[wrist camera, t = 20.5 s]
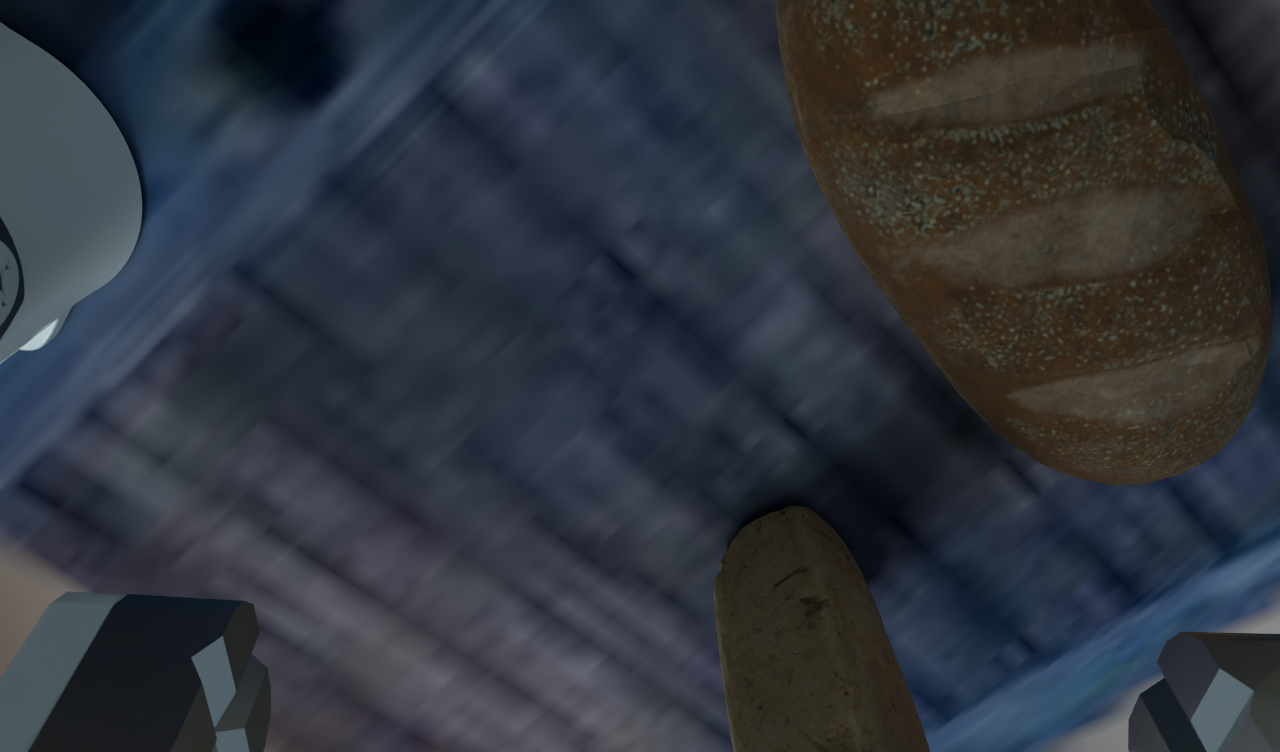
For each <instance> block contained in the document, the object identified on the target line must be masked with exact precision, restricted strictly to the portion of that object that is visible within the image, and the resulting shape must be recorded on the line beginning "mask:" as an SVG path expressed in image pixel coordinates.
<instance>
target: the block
mask: <svg viewBox="0 0 1280 752" xmlns="http://www.w3.org/2000/svg"><path fill="white" fill-rule="evenodd" d="M714 599H715V613H716V624H717V635H718V645H719V654H720V663H721V673H722V680H723V687H724V693H725V698H726V709H727V714H728V719H729V726H730V734H731V739H732V745H733V749H734V752H930V750H929V746H928V743H927V740H926V737H925V734H924V731H923V728H922V725H921V722H920V719H919V717H918V714H917V711H916V708H915V705H914V702H913V700H912V697H911V694H910V692H909V689H908V686H907V684H906V682H905V679H904V677H903V674H902V672H901V670H900V667H899V665H898V662H897V660H896V658H895V655H894V652H893V650H892V647H891V644H890V642H889V639H888V636H887V634H886V631H885V629H884V626H883V622H882V619H881V617H880V614H879V612H878V609H877V607H876V604H875V601H874V599H873V597H872V595H871V593H870V590H869V588H868V586H867V583H866V581H865V579H864V576H863V574H862V572H861V570H860V568H859V566H858V564H857V562H856V560H855V559H854V557H853V556H852V554H851V552H850V551H849V549H848V547H847V546H846V544H845V543H844V542H843V540H842V539H841V538H840V536H839V535H838V534H837V533H836V531H835V530H834V529H833V528H832V527H831V526H830V525H829V524H828V523H827V522H826V521H824V520H823V519H822V518H821V517H820V516H819V515H818V514H817V513H815V512H814V511H812V510H811V509H809V508H806V507H804V506H797V505H792V506H788V507H785V508H784V509H782V510H780V511H775V512H772V513H769V514H767V515H764V516H762V517H760V518H758V519H756V520H754V521H753V522H751V523H749V524H748V525H746V526H744V527H743V528H742V529H741V530H740V531H739V532H738V534H737V536H736V537H735V538H734V539H733V540H732V541H731V544H730V547H729V549H728V551H727V552H726V554H725V555H724V557H723V558H722V560H721V561H720V573H719V575H718V576H717V578H716V580H715V583H714Z"/></svg>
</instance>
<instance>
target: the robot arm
mask: <svg viewBox="0 0 1280 752" xmlns="http://www.w3.org/2000/svg"><path fill="white" fill-rule="evenodd" d="M141 220H142V195H141V187H140V182H139V177H138V173H137V169H136V166H135V163H134V160H133V157H132V155H131V152H130V150H129V148H128V145H127V143H126V141H125V139H124V137H123V135H122V134H121V132H120V130H119V128H118V127H117V125H116V123H115V122H114V120H113V119H112V117H111V116H110V114H109V113H108V111H107V110H106V109H105V107H104V106H103V105H102V103H101V102H100V101H99V100H98V99H97V97H96V96H95V95H94V94H93V93H92V92H91V90H90V89H89V88H88V87H87V86H86V85H85V84H84V83H83V82H82V81H81V80H80V79H79V78H78V77H77V76H76V75H75V74H74V73H72V72H71V71H70V70H69V69H68V68H67V67H66V66H64V65H63V64H62V63H61V62H59V61H58V60H57V59H55V58H54V57H53V56H52V55H50V54H49V53H47V52H46V51H44V50H43V49H41V48H40V47H38V46H37V45H35V44H34V43H32V42H30V41H29V40H27V39H25V38H24V37H22V36H21V35H19V34H17V33H16V32H14V31H13V30H11V29H9V28H8V27H7V26H5V25H4V24H2V23H1V22H0V364H1V363H2V362H3V361H5V360H6V359H7V358H8V357H10V356H11V355H12V354H14V353H15V352H16V351H17V350H19V349H20V350H36V349H39V348H41V347H42V346H44V345H45V344H46V343H48V342H49V341H50V340H52V339H53V338H54V337H55V336H56V335H57V333H58V332H59V331H60V329H61V327H62V326H63V324H64V322H65V320H66V318H67V316H68V314H69V312H70V310H71V308H72V307H73V306H74V305H75V304H76V303H77V302H79V301H80V300H82V299H83V298H85V297H86V296H88V295H90V294H91V293H93V292H94V291H96V290H98V289H99V288H101V287H102V286H104V285H105V284H106V283H108V282H109V281H110V280H111V279H112V278H114V277H115V275H116V274H117V273H118V272H119V271H120V270H121V269H122V268H123V266H124V265H125V264H126V262H127V261H128V259H129V257H130V256H131V254H132V252H133V249H134V247H135V245H136V242H137V239H138V236H139V232H140V227H141ZM259 633H260V630H259V626H258V622H257V618H256V614H255V609H254V605H253V604H251V603H248V602H245V601H237V600H220V599H203V598H186V597H169V596H152V595H135V594H127V595H118V594H100V593H83V592H66V593H65V594H63V595H62V596H60V597H59V598H58V599H56V600H55V601H53V602H52V603H51V604H50V605H49V606H48V607H47V609H46V610H45V612H44V613H43V615H42V616H41V618H40V619H39V621H38V622H37V624H36V625H35V627H34V628H33V630H32V631H31V633H30V634H29V636H28V637H27V639H26V640H25V642H24V643H23V645H22V646H21V648H20V649H19V651H18V653H17V654H16V655H15V657H14V658H13V660H12V661H11V663H10V664H9V666H8V667H7V669H6V670H5V672H4V673H3V675H2V676H1V678H0V752H263V751H264V748H265V744H266V738H267V732H268V726H269V720H270V714H271V686H270V681H269V675H268V669H267V667H266V666H265V665H264V664H263V663H262V662H260V661H259V660H258V659H257V658H256V657H255V656H253V655H252V654H251V653H252V651H253V648H254V645H255V643H256V640H257V638H258V635H259ZM1157 663H1158V665H1159V668H1160V670H1161V672H1162V674H1163V676H1164V679H1162V680H1161V681H1159V682H1157V683H1156V684H1154V685H1153V686H1151V687H1150V688H1148V689H1147V690H1145V691H1144V692H1142V693H1141V694H1140V695H1139V697H1138V699H1137V701H1136V704H1135V706H1134V708H1133V711H1132V713H1131V715H1130V718H1129V730H1128V749H1129V752H1280V634H1252V633H1209V632H1180V633H1178V634H1177V635H1175V636H1174V637H1172V638H1171V639H1169V640H1168V641H1167V642H1166V644H1165V645H1164V647H1163V649H1162V651H1161V653H1160V655H1159V657H1158V659H1157Z"/></svg>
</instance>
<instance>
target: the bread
mask: <svg viewBox="0 0 1280 752" xmlns="http://www.w3.org/2000/svg"><path fill="white" fill-rule="evenodd" d="M775 11H776V21H777V31H778V41H779V47H780V54H781V60H782V67H783V72H784V77H785V83H786V88H787V93H788V98H789V102H790V106H791V110H792V113H793V117H794V121H795V125H796V128H797V132H798V135H799V138H800V141H801V143H802V146H803V149H804V152H805V155H806V158H807V161H808V163H809V165H810V167H811V169H812V171H813V173H814V175H815V177H816V179H817V181H818V183H819V185H820V187H821V189H822V191H823V193H824V195H825V197H826V199H827V201H828V203H829V205H830V207H831V208H832V210H833V212H834V214H835V216H836V218H837V220H838V222H839V224H840V226H841V227H842V229H843V231H844V233H845V235H846V236H847V238H848V240H849V242H850V244H851V246H852V247H853V249H854V251H855V253H856V254H857V256H858V257H859V259H860V260H861V262H862V263H863V264H864V266H865V267H866V269H867V270H868V272H869V273H870V275H871V276H872V278H873V279H874V280H875V282H876V283H877V285H878V286H879V287H880V289H881V290H882V291H883V293H884V294H885V295H886V297H887V298H888V299H889V301H890V302H891V304H892V305H893V306H894V308H895V309H896V311H897V312H898V313H899V315H900V316H901V318H902V319H903V321H904V322H905V323H906V325H907V326H908V328H909V329H910V330H911V332H912V333H913V334H914V336H915V337H916V338H917V340H918V341H919V342H920V344H921V345H922V346H923V348H924V349H925V350H926V352H927V353H928V354H929V356H930V357H931V358H932V360H933V361H934V362H935V364H936V365H937V366H938V368H939V369H940V370H941V372H942V373H943V374H944V376H945V377H946V378H947V380H948V381H949V382H950V384H951V385H952V386H953V387H954V389H955V390H956V391H957V392H958V393H959V394H960V396H961V397H962V398H963V399H964V400H965V401H966V402H967V403H968V405H969V406H970V407H971V408H972V409H973V410H974V411H975V412H976V413H977V414H978V415H979V416H980V417H981V418H982V419H983V420H984V421H985V422H986V423H987V424H988V425H989V426H991V427H992V428H993V429H994V430H995V431H996V432H997V433H999V434H1000V435H1001V436H1002V437H1003V438H1005V439H1006V440H1007V441H1008V442H1010V443H1011V444H1012V445H1014V446H1015V447H1016V448H1018V449H1019V450H1021V451H1022V452H1024V453H1025V454H1027V455H1028V456H1030V457H1031V458H1033V459H1035V460H1037V461H1038V462H1040V463H1042V464H1044V465H1046V466H1048V467H1050V468H1052V469H1054V470H1057V471H1060V472H1062V473H1065V474H1067V475H1070V476H1073V477H1077V478H1082V479H1086V480H1091V481H1096V482H1101V483H1106V484H1110V485H1126V484H1144V483H1149V482H1153V481H1157V480H1161V479H1164V478H1168V477H1171V476H1175V475H1178V474H1181V473H1184V472H1186V471H1188V470H1190V469H1192V468H1194V467H1196V466H1198V465H1199V464H1201V463H1203V462H1205V461H1207V460H1208V459H1209V458H1211V457H1212V456H1213V455H1214V454H1216V453H1217V452H1218V451H1219V450H1221V449H1222V448H1223V447H1224V446H1225V445H1226V444H1227V443H1228V442H1229V440H1230V439H1231V438H1232V437H1233V435H1234V434H1235V433H1236V432H1237V430H1238V429H1239V428H1240V426H1241V425H1242V424H1243V422H1244V421H1245V419H1246V417H1247V415H1248V413H1249V412H1250V410H1251V408H1252V406H1253V404H1254V402H1255V400H1256V397H1257V394H1258V392H1259V389H1260V387H1261V384H1262V380H1263V376H1264V372H1265V368H1266V364H1267V359H1268V354H1269V349H1270V344H1271V289H1270V278H1269V271H1268V265H1267V259H1266V253H1265V246H1264V240H1263V235H1262V232H1261V230H1260V227H1259V225H1258V222H1257V220H1256V217H1255V215H1254V212H1253V210H1252V208H1251V205H1250V203H1249V201H1248V198H1247V196H1246V193H1245V191H1244V189H1243V186H1242V184H1241V182H1240V179H1239V177H1238V175H1237V172H1236V170H1235V168H1234V165H1233V163H1232V161H1231V158H1230V156H1229V154H1228V152H1227V149H1226V147H1225V144H1224V142H1223V139H1222V137H1221V134H1220V131H1219V129H1218V126H1217V124H1216V121H1215V119H1214V117H1213V115H1212V113H1211V111H1210V108H1209V106H1208V104H1207V102H1206V100H1205V98H1204V96H1203V94H1202V92H1201V90H1200V88H1199V86H1198V84H1197V82H1196V80H1195V78H1194V77H1193V75H1192V73H1191V71H1190V69H1189V67H1188V65H1187V63H1186V61H1185V59H1184V58H1183V56H1182V54H1181V52H1180V50H1179V48H1178V47H1177V45H1176V43H1175V41H1174V39H1173V38H1172V36H1171V34H1170V32H1169V31H1168V29H1167V27H1166V26H1165V24H1164V22H1163V21H1162V19H1161V17H1160V15H1159V14H1158V12H1157V11H1156V9H1155V8H1154V7H1153V5H1152V4H1151V3H1150V1H1149V0H776V5H775Z"/></svg>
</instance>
